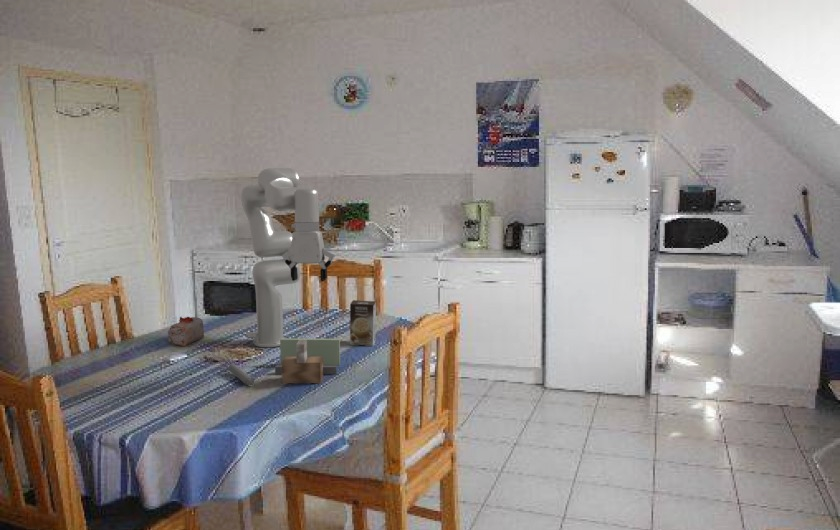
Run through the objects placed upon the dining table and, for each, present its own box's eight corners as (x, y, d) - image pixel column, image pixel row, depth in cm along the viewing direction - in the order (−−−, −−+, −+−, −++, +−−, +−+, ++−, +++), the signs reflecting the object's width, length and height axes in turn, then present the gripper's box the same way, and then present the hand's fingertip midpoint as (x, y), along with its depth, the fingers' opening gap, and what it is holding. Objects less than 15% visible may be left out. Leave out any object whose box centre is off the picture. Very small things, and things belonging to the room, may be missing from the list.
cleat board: (275, 374, 218) (274, 347, 216) (281, 363, 228) (280, 338, 226) (336, 374, 218) (336, 347, 216) (340, 364, 228) (339, 338, 227)
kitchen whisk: (244, 391, 203) (243, 371, 202) (204, 363, 229) (204, 345, 228) (263, 386, 207) (262, 367, 206) (222, 360, 233) (221, 342, 232)
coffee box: (349, 345, 250) (348, 303, 247) (352, 340, 256) (352, 300, 253) (373, 346, 249) (373, 304, 246) (376, 341, 255) (376, 300, 253)
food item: (185, 348, 245) (184, 322, 244) (166, 346, 247) (165, 320, 246) (206, 338, 258) (205, 313, 257) (188, 336, 260) (187, 312, 259)
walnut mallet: (282, 384, 209) (280, 344, 206) (286, 377, 215) (284, 338, 213) (320, 384, 209) (319, 344, 206) (323, 377, 215) (322, 338, 213)
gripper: (277, 228, 210) (279, 281, 212) (329, 228, 207) (331, 283, 209) (286, 226, 217) (288, 277, 220) (337, 226, 214) (338, 279, 216)
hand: (309, 280), depth 214 cm, fingers open, 9 cm apart
